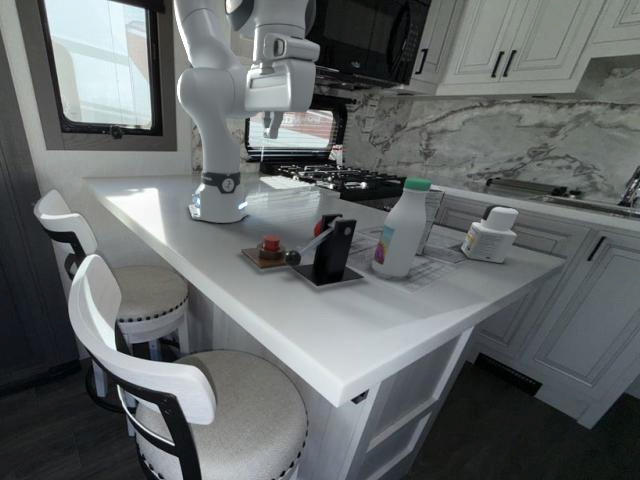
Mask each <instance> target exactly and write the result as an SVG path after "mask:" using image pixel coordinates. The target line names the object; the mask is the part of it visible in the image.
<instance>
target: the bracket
mask: <svg viewBox="0 0 640 480" xmlns="http://www.w3.org/2000/svg"><path fill="white" fill-rule="evenodd" d="M338 216H339V217H341V218H344V215H343V214H342V213H331V214H330V213H329V214H322V215H321V219H322V220H321V219H320V220H321V226H320V231H319V235H320V234H322V233H323V232H325V231H326V230H327V229H328V225H327V224H328V223H330V222H331V221H332V220H334V219H335V218H337V217H338ZM357 223H358V220H357V219H354V218H351V219H350V218H349V219H345V220H338V221H336V222H335V226H334V231H333V235H331V236H330V237H329V238H327V239H326V240H324V241H323V242H322V243H320V244H319V245H317V246H316V247H315V251H314V252H315V253H314V256H313V263H309V264H302V265H297V266H295V267H291V268H292V269H293V270H295V271H296V272H297V273H299V274H300V275H301V276H303V277H304V278H305V279H306V280H308V281H309V282H311V283H312V284H314V285H315V286H316V287H321V286H327V285H332V284H338V283H343V282H348V281H354V280H358V279H364V278H365V276H363V275H362V274H360V273H359V272H357V271H356V270H353V269H351V268H350V267H348V266H347V262H348V258H349V255H350V250H351V247H352V242H353V238H354V235H355V231H356V226H357Z"/></svg>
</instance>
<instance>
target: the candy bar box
mask: <svg viewBox="0 0 640 480" xmlns="http://www.w3.org/2000/svg"><path fill="white" fill-rule="evenodd" d="M445 194H446V190H444V189H442V188H440V187H439V186H437V185H435V184H434V183H432V184H431V187H430V189H429V193H427V195H426V198H425V211H426V224H425V228H424V231H423V234H422V237H421V240H420V243H419V245H418V248H417V251H416V254H415V256H416V255H417V256H422V255H423V253H424V251H425V248H426V245H427V243H428V240H429V238H430V234H431V231H432V229H433V226H434V223H435V221H436V218H437V216H438V213H439V211H440V208H441V205H442V202H443V200H444V197H445Z"/></svg>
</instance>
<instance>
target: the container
mask: <svg viewBox="0 0 640 480" xmlns="http://www.w3.org/2000/svg"><path fill="white" fill-rule="evenodd" d="M519 211H520V210H518V209H516V208H515V207H511V206H507V205H500V204H498V205H497V204H492V205H488V206H487V207H486V209H485V211H484V213H483V215H482V218H481V220H480V222H477V221H473V222H472V223H471V225H470V227H469V230H468V232H467V234H466V236H465V238H464V240H463V243H462V245H461V248H460V249H461V250H462V252H463V253H464V255H466V257H467V258H468V259H469V260H470V259H471V260H477V261H482V262H483V261H485V262H489V263H497V264H503V262H504V260H505V259H506V257H507V255H508V254H509V251H510V249H511V247H512V246H513V244H514V242H515V240H516V238H517V236H518V234H516V233H515V232H514V231H513V230H512V229H511V228H513V226H514V224H515V222H516V220H517V218H518V216H519V214H520V212H519Z"/></svg>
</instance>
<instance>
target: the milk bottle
mask: <svg viewBox="0 0 640 480" xmlns="http://www.w3.org/2000/svg"><path fill="white" fill-rule="evenodd" d="M431 184H433V182H432V180H430V179H424V178H417V177H408V178H406V179H405V181H404V184H403V188H402V190H403V192H402V195H401V196H400V198H399V199H398V201H397V202H396V204H395V205H394V206H393V207H392V208H391V210H390V211H389V212H388V214H387V216H386V218H385V220H384V223H383V226H382V229H381V232H380V236H379V239H378V241H377V245H376V248H375V252H374V254H373V258H372V262H371V266H370V267H371V269H372V270H373V271H375V272H377V273H379V274H382V275H385V276H389V277H394V278H395V277H396V278H402V277H406V276H408V274H409V272H410V270H411V267H412V265H413V261H414V259H415V256H416V251H417V248H418V245H419V243H420V240H421V237H422V234H423V231H424V228H425V224H426V211H425V198H426V195H427V193H429V189H430V187H431Z"/></svg>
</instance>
